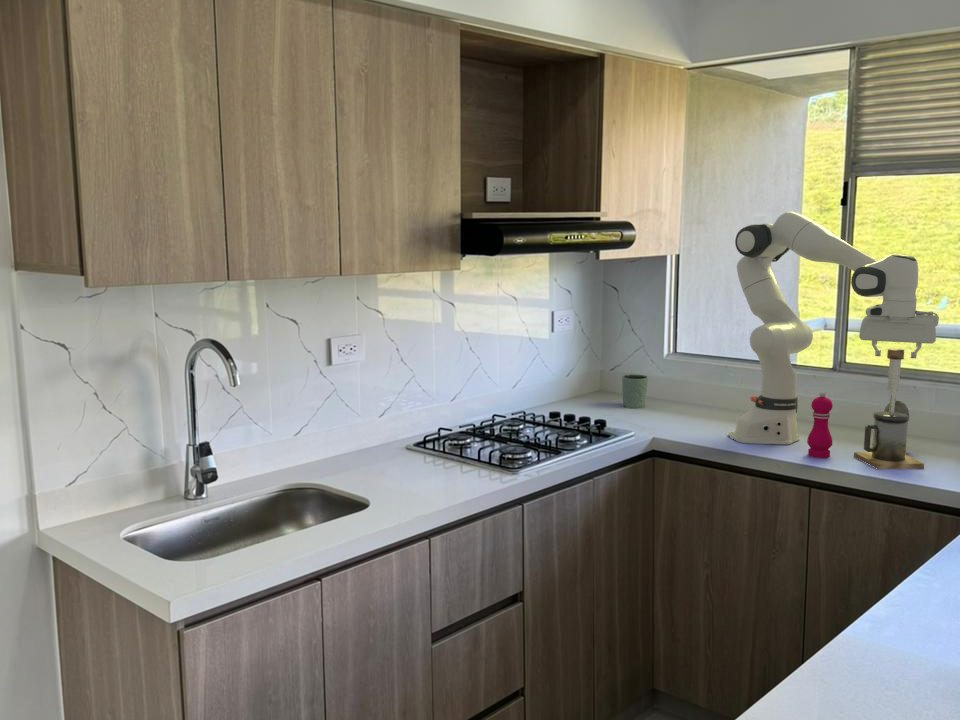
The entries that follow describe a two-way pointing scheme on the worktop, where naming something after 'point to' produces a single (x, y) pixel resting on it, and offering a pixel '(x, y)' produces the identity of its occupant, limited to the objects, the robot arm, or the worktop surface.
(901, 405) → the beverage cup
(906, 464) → the plate
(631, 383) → the green cup
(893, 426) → the press
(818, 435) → the pepper mill
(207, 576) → the worktop surface
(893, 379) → the plunger
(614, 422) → the worktop surface
